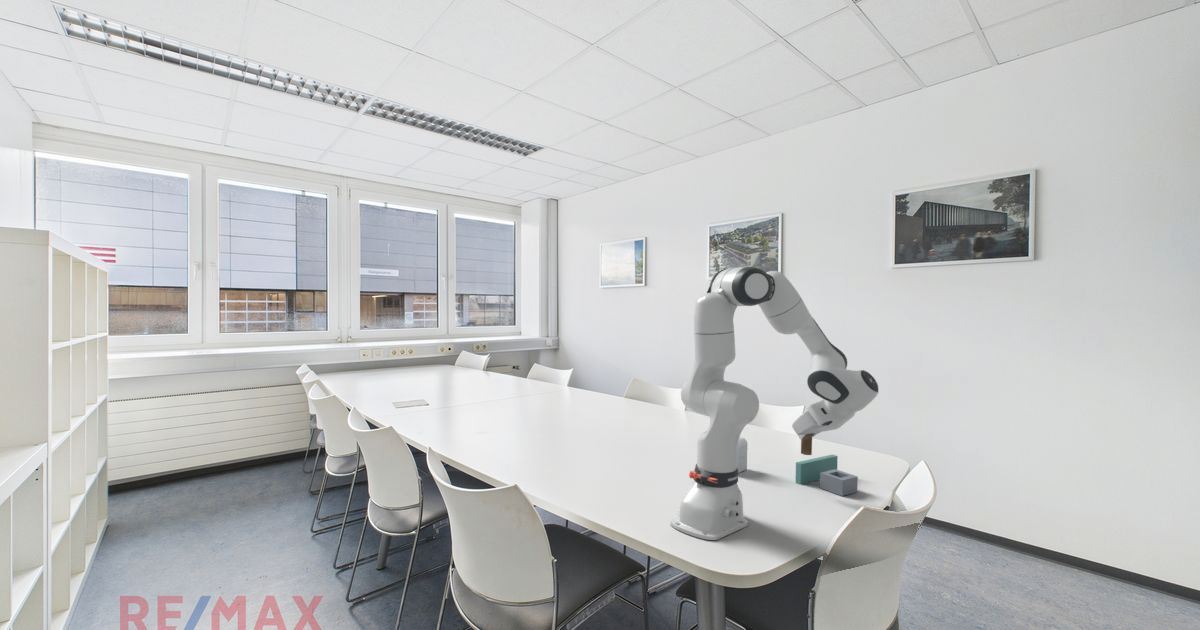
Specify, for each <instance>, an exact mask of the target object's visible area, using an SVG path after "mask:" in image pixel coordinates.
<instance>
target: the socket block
mask: <svg viewBox="0 0 1200 630" xmlns="http://www.w3.org/2000/svg"><path fill="white" fill-rule="evenodd" d="M858 479H859V478H858V476H857V475H854V474H851V473H848V472H845V471H842V470H839V469H837V470H836V469H834V470H829V471H825V472H821V473H820V480H819V488H821V489H822V490H825V491H828V492H830V493H833V494H836V495H839V496H841V497H845V496H847V495H851V494H854V493H858V487H859V486H858Z"/></svg>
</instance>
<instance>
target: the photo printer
mask: <svg viewBox="0 0 1200 630" xmlns="http://www.w3.org/2000/svg"><path fill="white" fill-rule="evenodd" d="M737 468H738V473H739V474H740V473H742V472H745V471H746V470H747V468H748V441H747V439H746V438H745V437H741V436H740V437H739V441H738V448H737Z"/></svg>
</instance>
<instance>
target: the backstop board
mask: <svg viewBox="0 0 1200 630" xmlns="http://www.w3.org/2000/svg"><path fill="white" fill-rule="evenodd" d="M838 457H839V456H838V455H836V454H828V455H823V456H819V457H815V458H814V457H813V458H809V459H806V460H801V461H797V462H795V484H798V485H800V484H801V485H804V483H805V484H808V483H807V482H809V483H812V482H811V481H813V482H816V481H815V480H817V481H820V480H819V479H820V473H821V472H825V471H829V470H834V469H836V470H838V460H839V459H838Z"/></svg>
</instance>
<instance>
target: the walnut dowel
mask: <svg viewBox="0 0 1200 630" xmlns="http://www.w3.org/2000/svg"><path fill="white" fill-rule="evenodd" d="M800 454H801V455H804V456H812V454H813V437H812V433H811V434H807V436H806V437H805V438H802V439H800Z"/></svg>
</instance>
